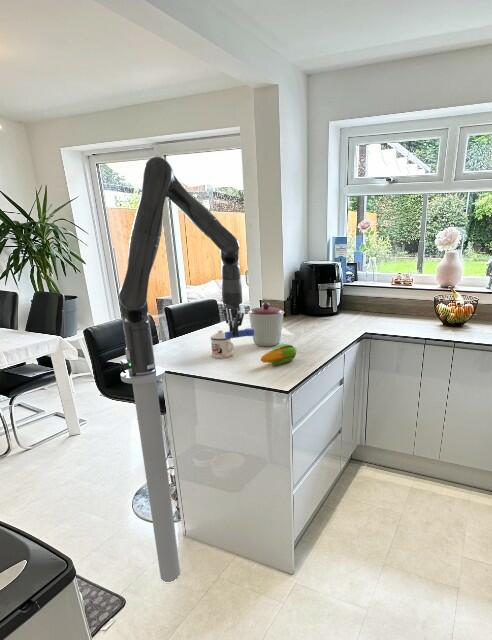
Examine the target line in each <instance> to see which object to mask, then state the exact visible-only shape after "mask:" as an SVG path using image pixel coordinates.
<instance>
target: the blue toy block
mask: <svg viewBox="0 0 492 640" xmlns="http://www.w3.org/2000/svg"><path fill="white" fill-rule="evenodd" d="M224 333H225V338H227V339H230V338H231V339H236V338H242V337H243V338H244V337H253V336H254V335H255V334H254V329H252V328H251V327H250V328H249V327H248V328H243V329H238V336H236V337H234V336H233V332H232V331H230V330H229V331H225V332H224Z"/></svg>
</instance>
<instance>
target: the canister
mask: <svg viewBox="0 0 492 640" xmlns="http://www.w3.org/2000/svg"><path fill="white" fill-rule="evenodd" d="M247 314H248V315H249V316H248V317H249V323H250V328H252V329H254V334H255V335H254V336H252V341H253V343H254V344H255V345H256V346H259V347H275V346H278V345H279V344H280V342H281V337H282V330H283V319H284V314H285V311H284V310H282V309H281V308H279V307H273V306H271V305H270V303H269V302H267V301H266V302H265V301H264V302H263V303H262V307H261V306H260V307H254V308H252V309H250V310H249V311H247Z"/></svg>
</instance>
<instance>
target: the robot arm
mask: <svg viewBox="0 0 492 640" xmlns="http://www.w3.org/2000/svg"><path fill="white" fill-rule="evenodd" d="M166 198H167V199H168V200H169V201H171V202H172V203H173V204H174V205H175V206H176V207H177V208H178V209H180V211H182V213H183V214H184V215H185V216H186V217H187V218H188V220H190V222H192V223H193V224H194V225H195V227H197V229H199V230H200V231H201V232H202V233H203V235H204V236H206V237H207V238H208V239H210V240H211V241H212V242H213V244H214V245H215V246H216V247H217V248H218V249H219V252H220V259H221V269H220V270H221V298H222V299H221V300H222V304H223V305H225V308H223V309H222V314H223V318H224V320H225V323H226V324H227V325H228V327H229V329H228V330H229V331H232V332H233V336H234V337H236V336H238V330H239V328H240V327H241V326H242V324H243V320H244V318H245V312H241V307H240V305H242V304H243V290H242V289H243V286H242V279H241V265H240V241H239V240H238V239H237V237H236V236H235V235H233V233H231V231H229V230H228V229H227V228H226V227H225V226H224V225H223V224H222V223H221V222H220V221H219V220H218V218H217V217H216V216H215V215H214V214H213V213H212V212H211V211H210V210H209V209H208V208H207V207H206V206H205V205H203V203H201V202H200V201H199V200H197V199H196V198H195V197H194V195H193V196H192V194H190V193H189V192H188V191H187V189H185V187H184V186H183V185H182V184H181V182H180V181H179V179H178V178H177V177H176V176H175V173H174V170H173V167H172V165H171V164H170V163H169V162H168V161H167V160H166V159H165V158H163V157H161V156H153V157H151V158H149V159H148V160H147V161H146V162H145V165H144V168H143V177H142V187H141V193H140V200H139V202H138V203H139V204H138V206H137V209H136V213H135V217H134V221H133V224H132V229H131V234H130V239H129V246H128V256H127V257H128V259H127V267H126V273H125V276H124V279H123V281H122V285H121V287H120V288H119V292H118V301H119V306H120V312H121V321H122V327H123V334H124V341H125V346H126V348H124V352H125V357H126V359H121V360H120V366H119V371H120V372H121V373H122V372H123V373H126V371H125V370H128V372H129V373H130V374H131V375H132V376H143V375H149V374H152V373H155V372H156V368H155V366H156V361H155V354H154V344H153V337H152V329H151V319H150V314H149V307H148V290H149V281H150V275H151V272H152V269H153V266H154V263H155V260H156V257H157V254H158V251H159V247H160V242H161V238H162V231H163V220H164V218H163V217H164V205H165V201H166Z"/></svg>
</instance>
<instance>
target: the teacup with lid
mask: <svg viewBox="0 0 492 640" xmlns="http://www.w3.org/2000/svg"><path fill="white" fill-rule="evenodd" d="M231 339H232V338H230V339H227V338H225V332H224V331H223V330H222V329H219V330H218V331H217V332H215V333H214V334H212V335H210V344H211V356H212V357H213V358H217V359H224V358H229V357H231V356H232V352H233V351H234V348H235V347H234V343H233V342H232V341H231Z"/></svg>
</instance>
